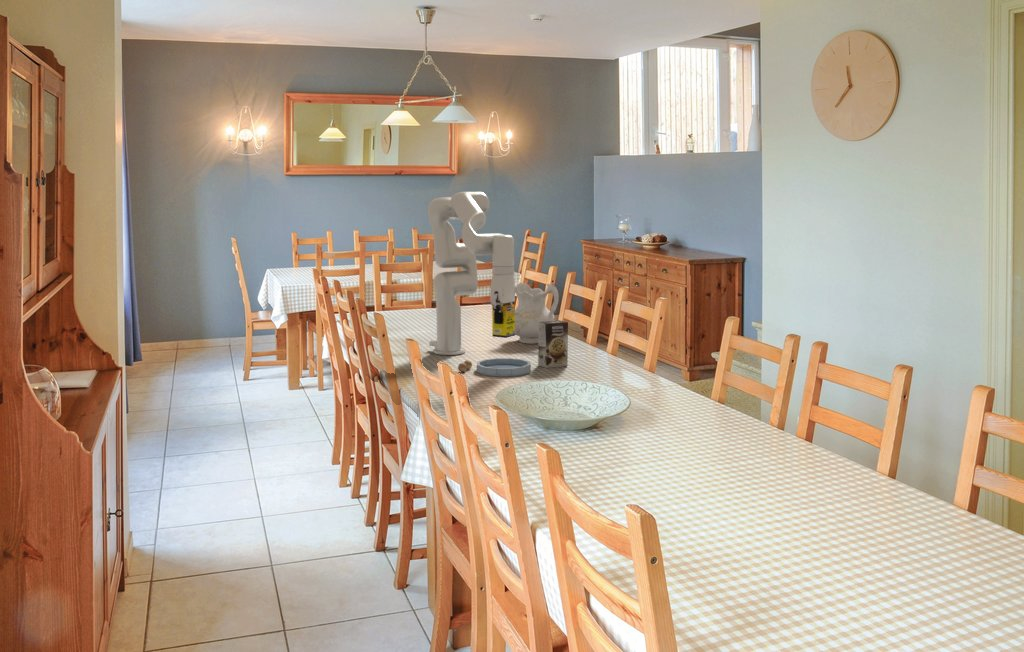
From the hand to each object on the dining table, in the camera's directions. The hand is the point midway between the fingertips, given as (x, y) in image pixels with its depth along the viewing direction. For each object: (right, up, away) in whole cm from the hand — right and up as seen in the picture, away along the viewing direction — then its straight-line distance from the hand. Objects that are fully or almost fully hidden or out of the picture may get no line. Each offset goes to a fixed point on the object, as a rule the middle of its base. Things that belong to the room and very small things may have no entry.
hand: (503, 321), depth 317 cm
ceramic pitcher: (+12, -8, +62) cm, 64 cm away
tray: (0, -17, +3) cm, 17 cm away
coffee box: (+18, -16, +12) cm, 27 cm away
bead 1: (-14, -18, +2) cm, 23 cm away
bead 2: (-13, -17, +6) cm, 22 cm away
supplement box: (0, -5, +1) cm, 5 cm away
